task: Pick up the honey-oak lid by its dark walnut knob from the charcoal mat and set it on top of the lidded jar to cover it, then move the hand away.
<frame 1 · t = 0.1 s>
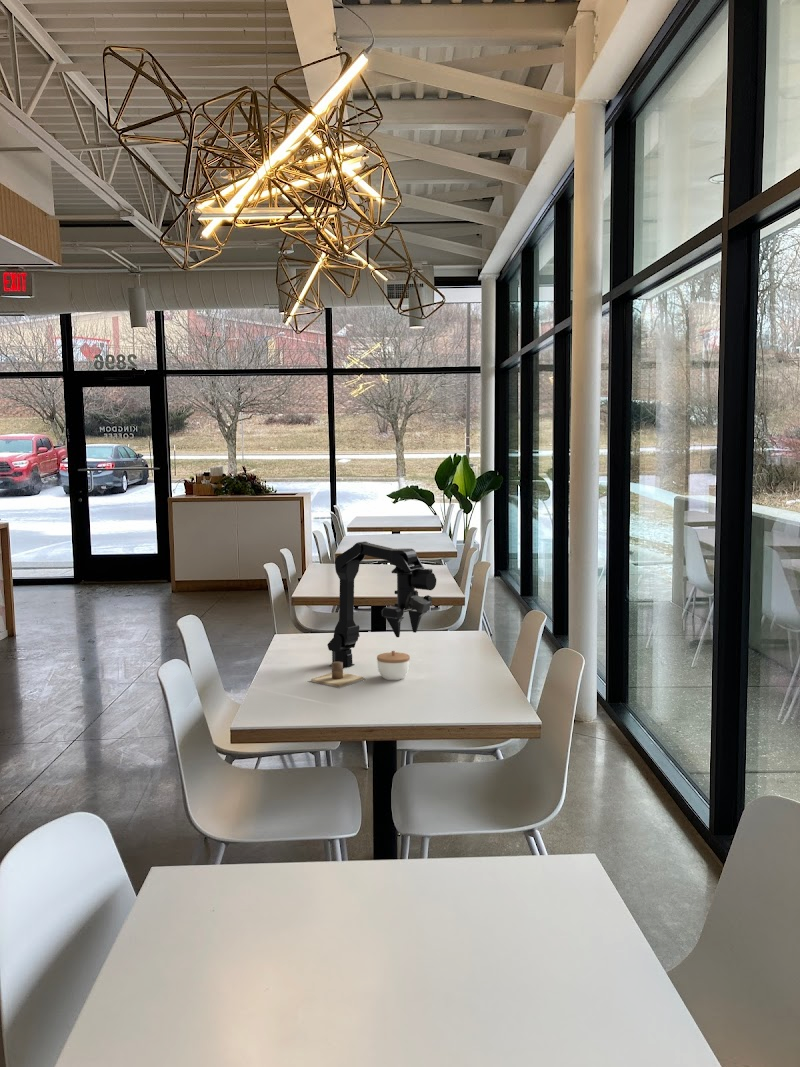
hand: (406, 634, 291), 15 cm above the table, tool pointing down, fingers open, 9 cm apart
lidded jar: (393, 679, 292), on the table
lid: (337, 680, 290), resting on mat
mat: (337, 681, 290), on the table
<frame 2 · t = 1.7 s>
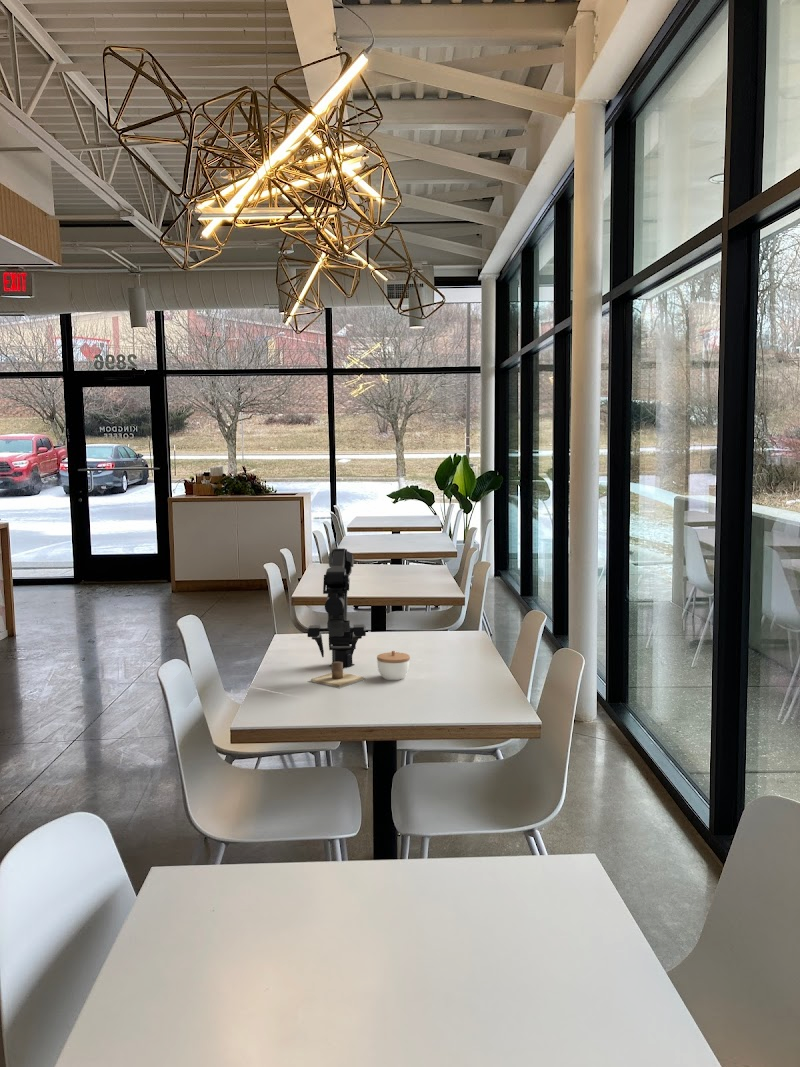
hand: (337, 656, 289), 8 cm above the table, tool pointing down, fingers open, 9 cm apart
nothing on the table moved.
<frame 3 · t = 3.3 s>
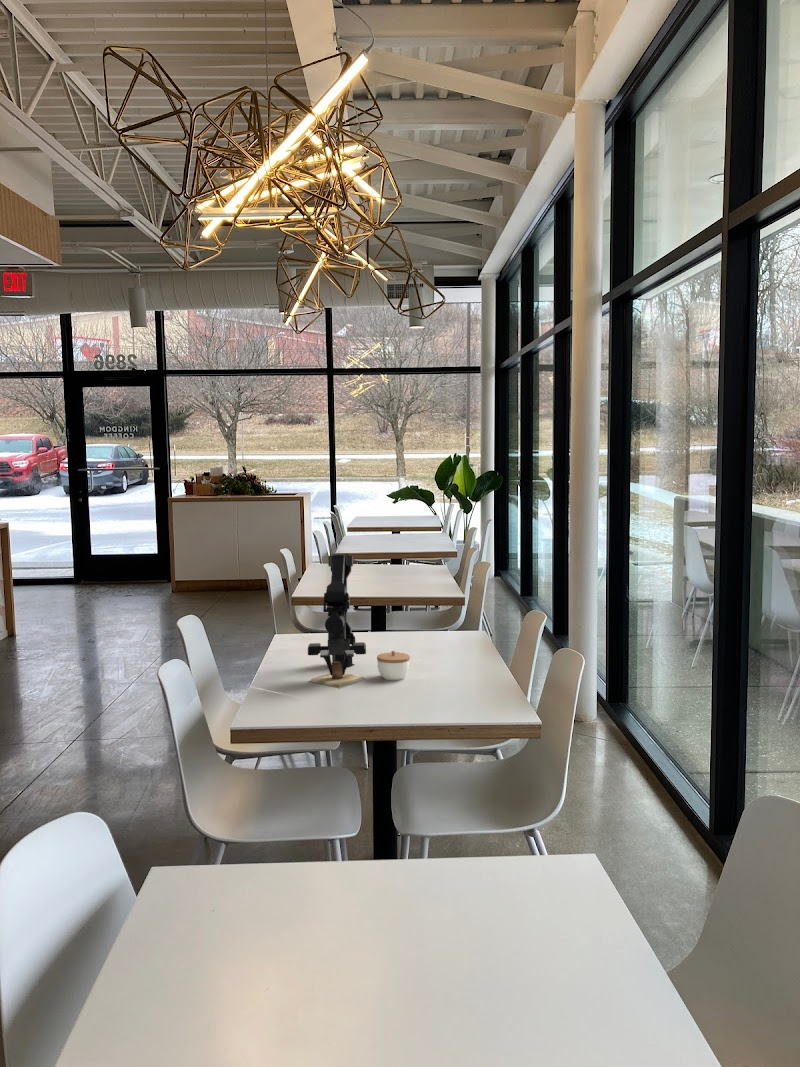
hand: (337, 674, 290), 2 cm above the table, tool pointing down, fingers closed on lid, 4 cm apart
lid: (337, 680, 290), resting on mat, touching gripper
everything else where it was.
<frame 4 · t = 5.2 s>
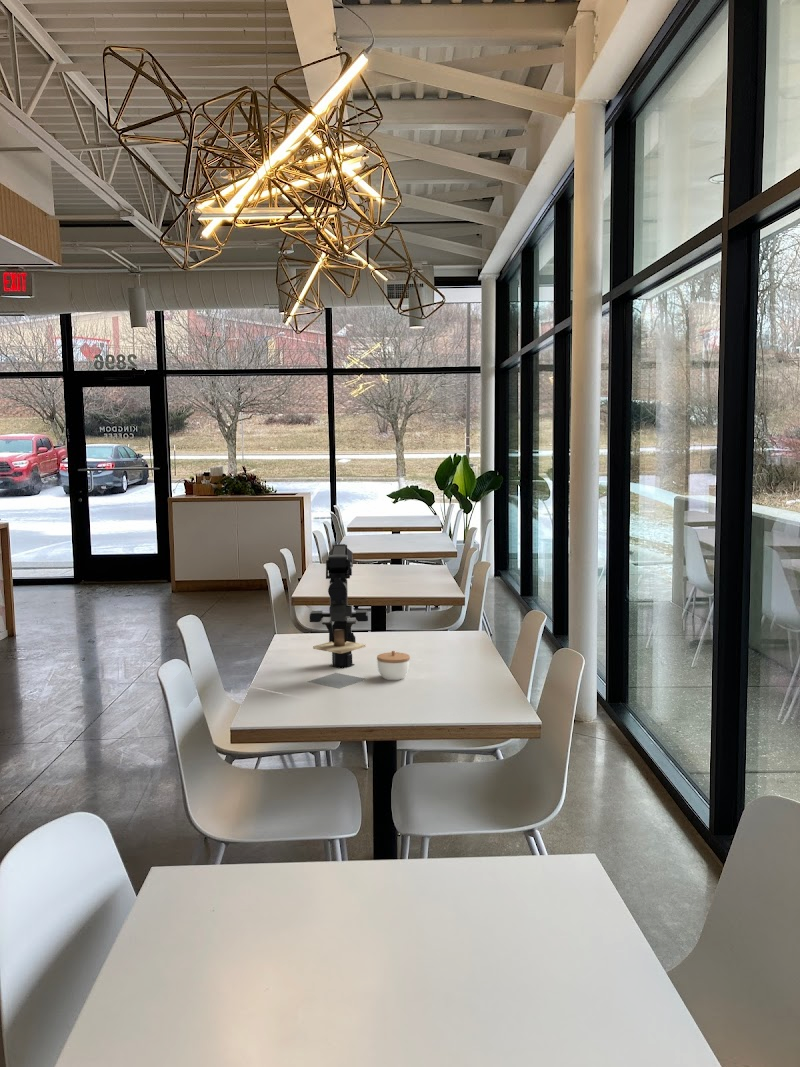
hand: (339, 642, 289), 13 cm above the table, tool pointing down, fingers closed on lid, 4 cm apart
lid: (339, 647, 289), point 11 cm above the table, touching gripper
everything else where it was.
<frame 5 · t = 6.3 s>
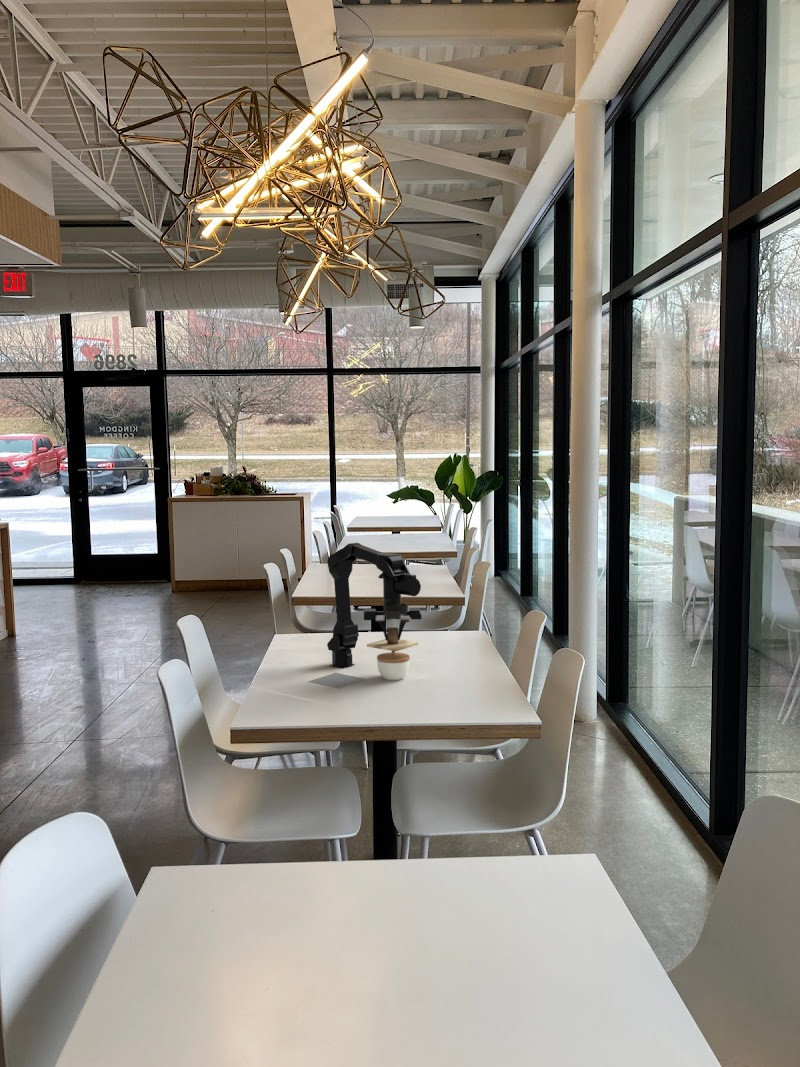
hand: (392, 640, 291), 13 cm above the table, tool pointing down, fingers closed on lid, 4 cm apart
lid: (392, 645, 291), point 11 cm above the table, touching gripper
everything else where it was.
when the fingers open (12 cm above the table, at t = 7.2 s): lid stays where it is, resting on lidded jar.
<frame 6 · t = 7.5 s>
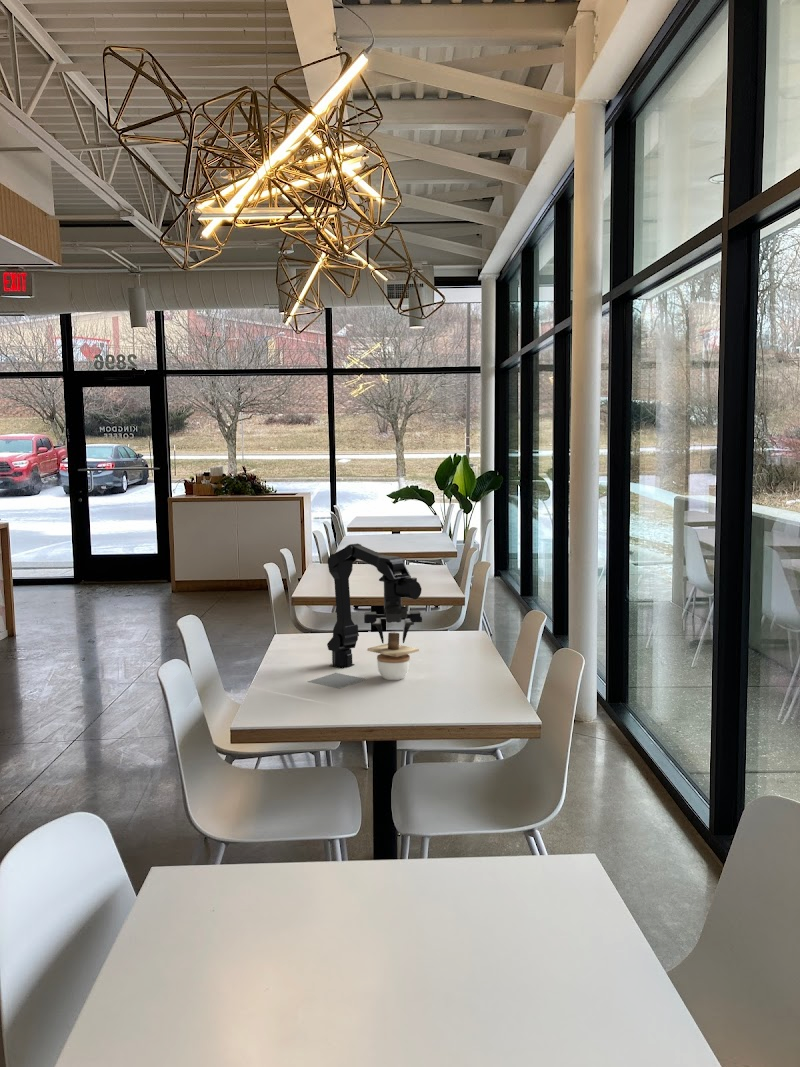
hand: (393, 643, 291), 12 cm above the table, tool pointing down, fingers open, 6 cm apart
lidded jar: (393, 679, 292), on the table, touching lid
lid: (393, 651, 291), point 9 cm above the table, touching lidded jar
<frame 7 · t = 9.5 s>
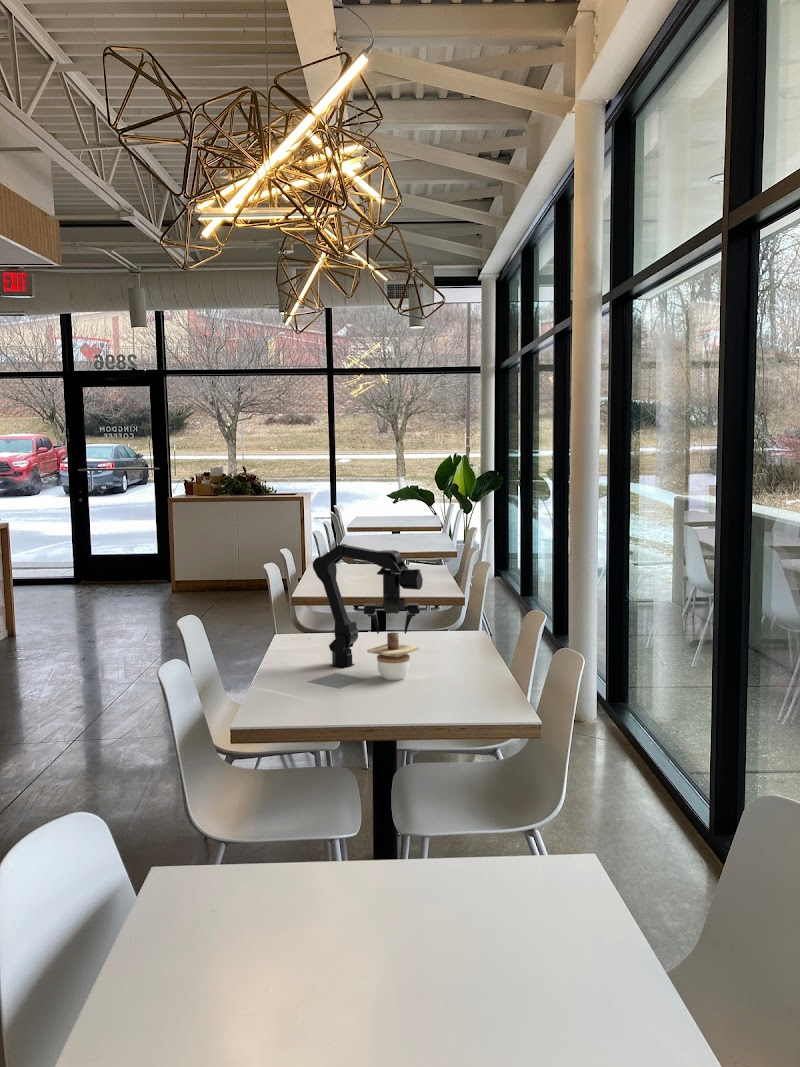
hand: (391, 633, 302), 13 cm above the table, tool pointing down, fingers open, 9 cm apart
nothing on the table moved.
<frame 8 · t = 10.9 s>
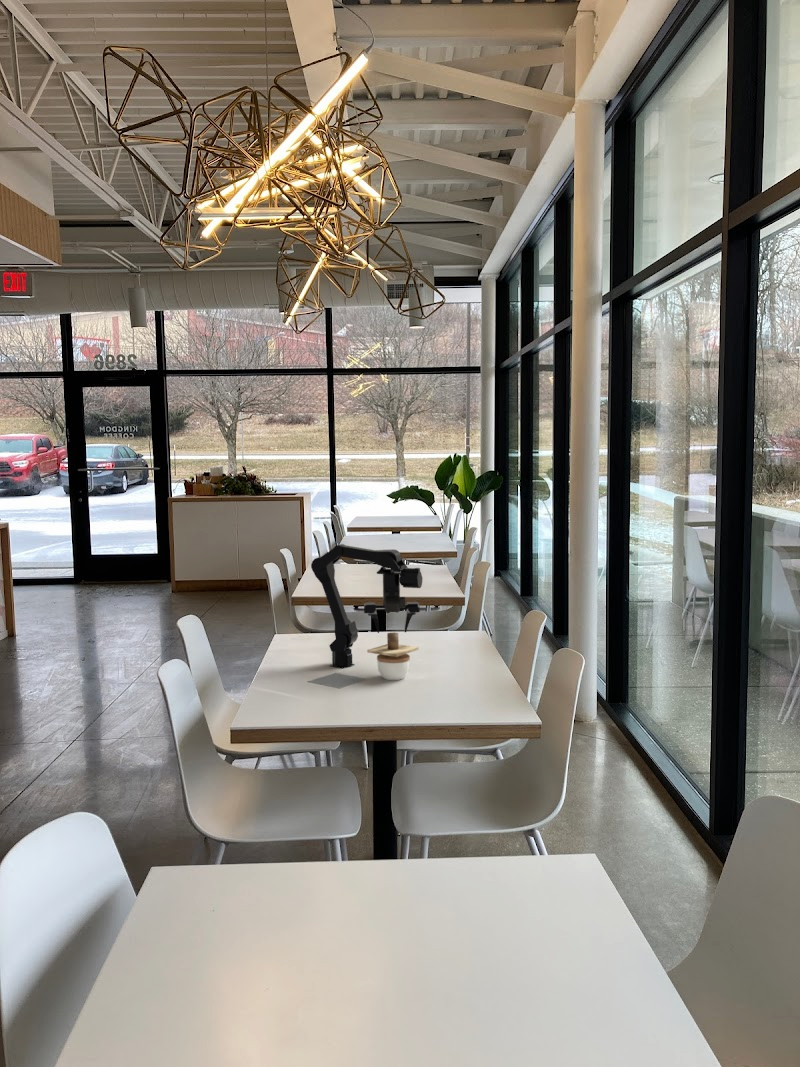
hand: (391, 632, 303), 13 cm above the table, tool pointing down, fingers open, 9 cm apart
nothing on the table moved.
at the end: lid 0.1 cm off-centre on the lidded jar, point 9.6 cm above the lidded jar's base; lid tilted 1°; the gripper is holding nothing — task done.
